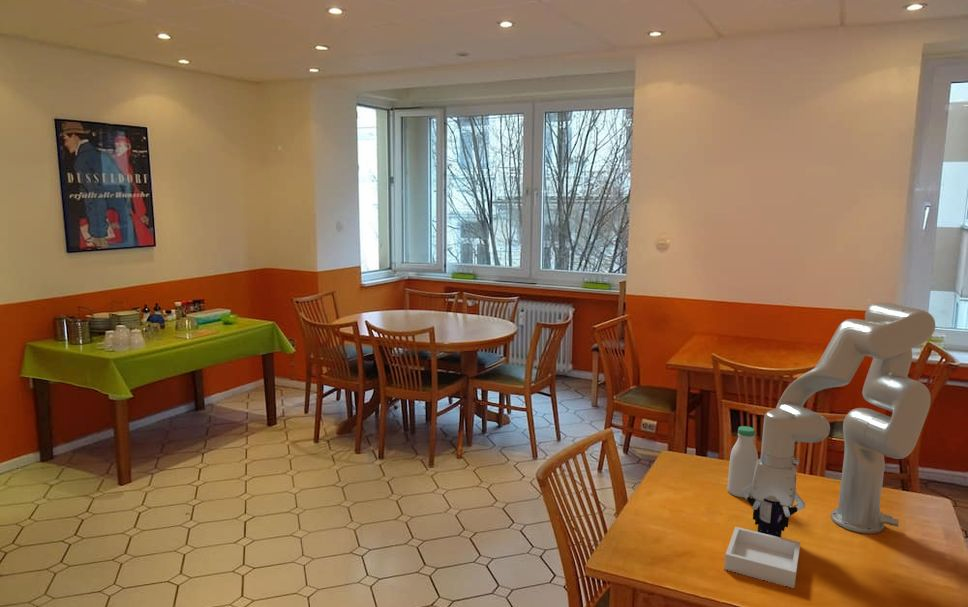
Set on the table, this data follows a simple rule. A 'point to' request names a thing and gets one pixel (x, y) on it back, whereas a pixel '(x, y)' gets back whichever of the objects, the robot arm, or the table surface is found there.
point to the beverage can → (770, 516)
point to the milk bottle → (742, 462)
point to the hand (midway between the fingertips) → (770, 525)
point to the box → (763, 556)
